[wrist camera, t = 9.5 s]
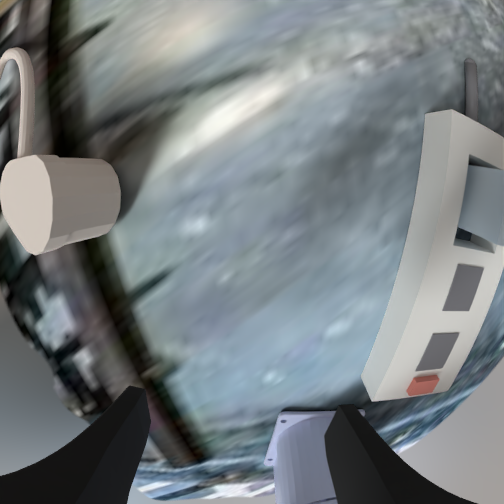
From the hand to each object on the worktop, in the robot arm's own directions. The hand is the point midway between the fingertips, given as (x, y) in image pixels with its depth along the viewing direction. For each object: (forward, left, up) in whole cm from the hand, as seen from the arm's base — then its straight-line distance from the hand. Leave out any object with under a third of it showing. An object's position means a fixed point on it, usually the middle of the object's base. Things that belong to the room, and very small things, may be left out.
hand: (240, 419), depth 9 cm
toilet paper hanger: (+7, +16, -10) cm, 20 cm away
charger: (+9, -14, -10) cm, 19 cm away
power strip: (+7, -14, -9) cm, 18 cm away
